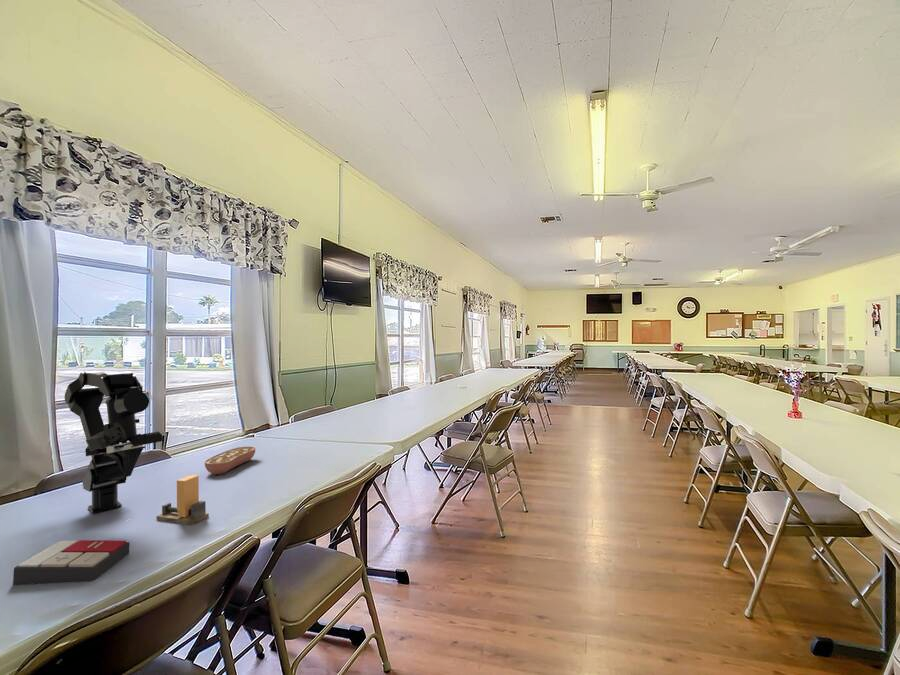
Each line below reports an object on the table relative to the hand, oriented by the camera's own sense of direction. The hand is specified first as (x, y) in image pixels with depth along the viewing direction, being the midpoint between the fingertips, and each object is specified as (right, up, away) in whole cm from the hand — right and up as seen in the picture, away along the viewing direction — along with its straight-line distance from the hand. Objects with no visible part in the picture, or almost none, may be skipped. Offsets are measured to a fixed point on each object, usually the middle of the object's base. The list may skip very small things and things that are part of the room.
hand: (127, 476), depth 112 cm
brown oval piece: (+4, -12, +45) cm, 47 cm away
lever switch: (+14, -11, +1) cm, 18 cm away
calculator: (+7, -12, -23) cm, 27 cm away
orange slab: (+16, -10, 0) cm, 19 cm away
